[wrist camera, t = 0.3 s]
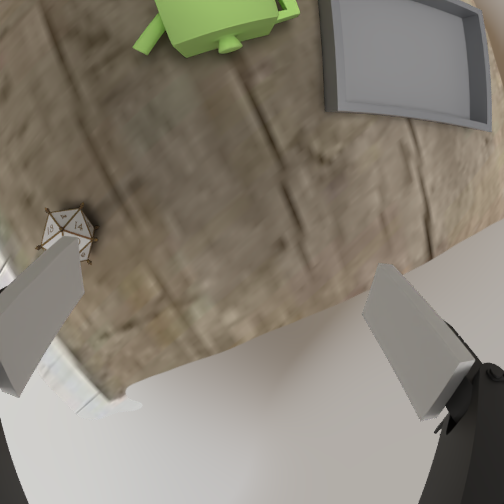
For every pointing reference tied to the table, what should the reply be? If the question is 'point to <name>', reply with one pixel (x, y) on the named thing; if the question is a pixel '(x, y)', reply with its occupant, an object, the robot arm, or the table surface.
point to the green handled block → (213, 23)
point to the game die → (69, 230)
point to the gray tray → (407, 60)
